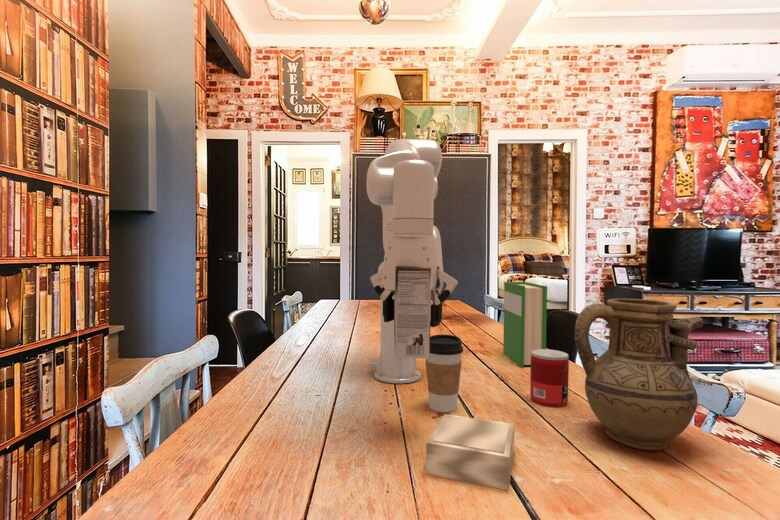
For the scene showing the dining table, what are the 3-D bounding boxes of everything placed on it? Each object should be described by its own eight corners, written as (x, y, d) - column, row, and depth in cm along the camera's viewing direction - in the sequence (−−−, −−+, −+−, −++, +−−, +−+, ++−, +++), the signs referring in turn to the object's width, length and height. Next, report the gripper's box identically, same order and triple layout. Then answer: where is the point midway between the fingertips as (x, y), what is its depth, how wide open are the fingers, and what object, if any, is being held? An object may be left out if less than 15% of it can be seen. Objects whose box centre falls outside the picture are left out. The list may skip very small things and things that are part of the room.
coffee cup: (465, 403, 91) (466, 335, 91) (459, 417, 83) (460, 343, 83) (428, 398, 94) (429, 333, 94) (418, 411, 86) (419, 340, 86)
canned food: (571, 408, 89) (572, 358, 89) (532, 405, 90) (533, 355, 90) (563, 396, 96) (564, 350, 96) (528, 394, 98) (528, 348, 98)
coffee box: (393, 345, 81) (394, 263, 80) (426, 345, 81) (427, 263, 80) (393, 358, 72) (394, 266, 71) (430, 358, 72) (432, 266, 71)
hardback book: (545, 368, 121) (547, 286, 120) (520, 367, 121) (521, 286, 120) (525, 353, 138) (526, 282, 138) (503, 353, 138) (504, 281, 138)
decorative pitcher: (589, 458, 67) (592, 305, 67) (559, 416, 85) (561, 294, 84) (735, 469, 64) (739, 309, 64) (673, 422, 82) (675, 297, 81)
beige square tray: (426, 475, 62) (426, 441, 62) (443, 441, 73) (444, 413, 73) (508, 492, 58) (509, 456, 58) (514, 453, 69) (514, 423, 69)
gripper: (361, 229, 76) (360, 322, 77) (451, 228, 68) (450, 332, 69) (380, 230, 83) (379, 316, 83) (464, 230, 75) (463, 324, 76)
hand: (411, 323), depth 76 cm, fingers closed on coffee box, 8 cm apart
